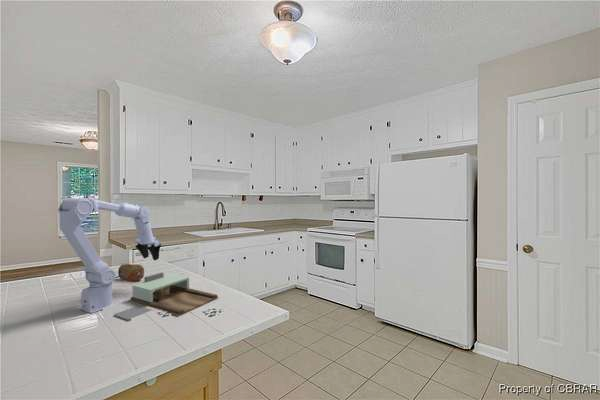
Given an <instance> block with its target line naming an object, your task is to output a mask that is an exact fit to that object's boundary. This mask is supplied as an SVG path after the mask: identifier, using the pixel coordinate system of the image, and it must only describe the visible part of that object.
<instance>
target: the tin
mask: <svg viewBox="0 0 600 400" xmlns="http://www.w3.org/2000/svg"><path fill="white" fill-rule="evenodd" d="M117 274H118V277H119V279H120V280H121V281H125V280H126V281H127V282H138V281H141V280H142V279H143V278H144V277H145V268H144V266H142V265H141V264H135V263H124V264H121V265H120V266H119V268H118V272H117Z"/></svg>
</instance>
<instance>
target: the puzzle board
mask: <svg viewBox="0 0 600 400" xmlns="http://www.w3.org/2000/svg"><path fill="white" fill-rule="evenodd" d="M217 299H219V296H218V294H216V293H211V292H207V291H203V290H202V291H201V290H198V289H193V288H190V287H189V288H188V289H186V288H182V287H178V286H173V285H170V286H169V295H167V296H164V297H161V298H160V297H156V296H155V291H153V302H148V301H144V300H141V299H137V298H134V297H132V296H131V297H130V300H129V302H133V303H137V304H138V305H143V306H145V307H150V308H153V309H157V310H160V311H163V312H166V313H170V315H172V316H175V317H181V316H182V315H185V314H187V313H189V312H191V311H193V310H195V309H198V308H199V307H202V306H205V305H206V304H208V303H211V302H213V301H215V300H217Z"/></svg>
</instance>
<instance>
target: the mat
mask: <svg viewBox="0 0 600 400" xmlns="http://www.w3.org/2000/svg"><path fill="white" fill-rule="evenodd" d="M151 311H152V308H147V307H146V306H145V307H144V306H141V305H136V306H132V307H129V308H128V309H125V310H121V311H120V312H119V311H118V312H117V313H114V314H113V316H114V317H115V316H116V317H115V318H118V317H119V318H118V319H121V318H122V319H121V320H124V319H125V320H124V321H127V322H130V321H132V319H133V318H135V317H136V318H137V317H138V316H141V315H143V314H144V315H145V314H146V313H148V312H151ZM129 320H130V321H129Z"/></svg>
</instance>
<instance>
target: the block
mask: <svg viewBox="0 0 600 400" xmlns="http://www.w3.org/2000/svg"><path fill="white" fill-rule="evenodd" d="M154 292H155V296H156V297H160V298H161V297H164V296H167V295H169V286H167V287H164V288H161V289H158V290H155V291H154Z"/></svg>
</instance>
